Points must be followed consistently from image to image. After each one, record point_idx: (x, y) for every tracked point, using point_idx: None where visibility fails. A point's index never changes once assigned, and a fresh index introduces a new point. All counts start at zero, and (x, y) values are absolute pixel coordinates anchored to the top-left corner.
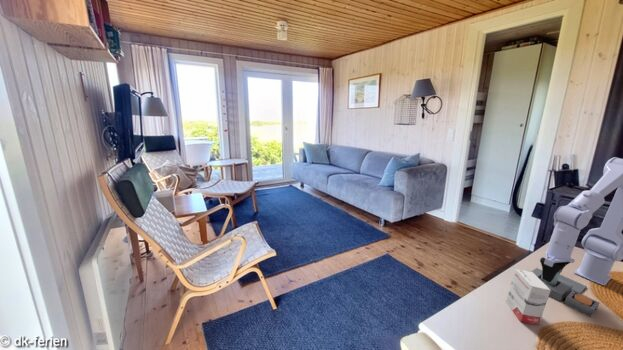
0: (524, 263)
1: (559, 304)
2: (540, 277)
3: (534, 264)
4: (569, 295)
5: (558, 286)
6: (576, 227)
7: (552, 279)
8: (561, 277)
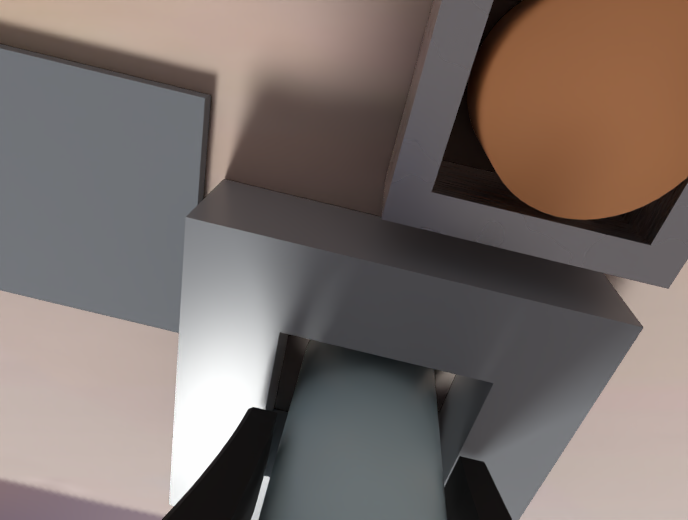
0: (86, 493)
1: (682, 272)
2: (278, 435)
3: (9, 440)
4: (599, 260)
5: (436, 359)
6: None
7: (499, 504)
8: (17, 270)
